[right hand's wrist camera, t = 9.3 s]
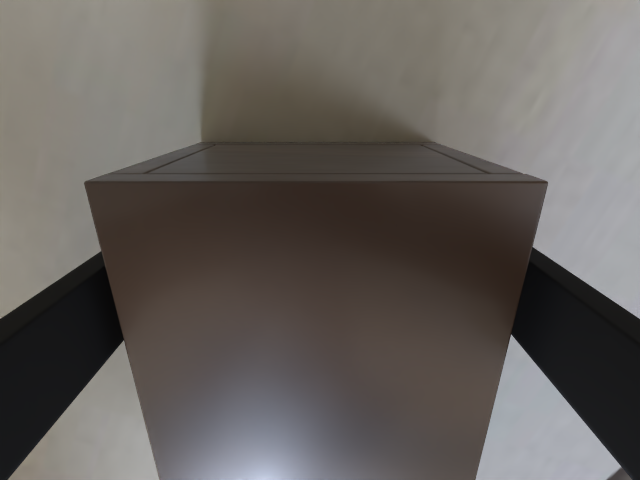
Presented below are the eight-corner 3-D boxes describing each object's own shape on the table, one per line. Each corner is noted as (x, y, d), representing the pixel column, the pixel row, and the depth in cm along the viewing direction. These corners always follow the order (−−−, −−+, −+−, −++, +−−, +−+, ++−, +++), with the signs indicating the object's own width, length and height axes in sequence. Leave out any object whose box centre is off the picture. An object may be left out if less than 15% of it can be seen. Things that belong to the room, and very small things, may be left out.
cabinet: (403, 418, 21) (448, 591, 13) (234, 418, 21) (187, 591, 13) (435, 142, 15) (549, 181, 8) (199, 142, 15) (82, 181, 8)
